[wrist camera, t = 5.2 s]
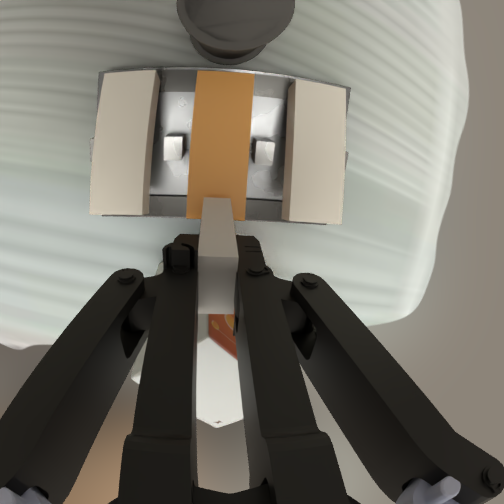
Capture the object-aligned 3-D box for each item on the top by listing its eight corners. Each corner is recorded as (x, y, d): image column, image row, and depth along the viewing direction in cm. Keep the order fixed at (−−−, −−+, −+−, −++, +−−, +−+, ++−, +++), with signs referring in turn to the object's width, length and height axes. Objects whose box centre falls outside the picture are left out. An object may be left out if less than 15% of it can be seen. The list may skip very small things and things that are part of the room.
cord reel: (194, -4, 16) (185, -46, 9) (272, 2, 17) (299, -36, 10) (186, 63, 19) (170, 48, 12) (264, 68, 19) (288, 56, 12)
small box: (264, 284, 29) (291, 400, 18) (212, 316, 30) (216, 430, 19) (210, 223, 25) (208, 336, 14) (156, 263, 27) (127, 381, 15)
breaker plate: (108, 73, 18) (90, 71, 15) (340, 87, 20) (360, 88, 17) (109, 206, 23) (95, 224, 20) (318, 215, 26) (332, 233, 23)
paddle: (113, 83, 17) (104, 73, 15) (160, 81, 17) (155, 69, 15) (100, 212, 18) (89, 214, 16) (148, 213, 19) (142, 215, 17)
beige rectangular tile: (287, 89, 18) (295, 78, 16) (334, 97, 19) (345, 88, 17) (281, 218, 20) (289, 221, 18) (329, 222, 20) (341, 224, 18)
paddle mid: (198, 80, 17) (197, 70, 15) (250, 84, 18) (254, 74, 16) (188, 215, 19) (186, 218, 17) (241, 217, 20) (244, 220, 18)
